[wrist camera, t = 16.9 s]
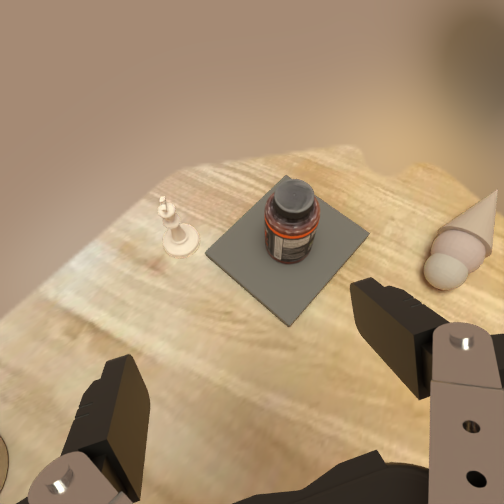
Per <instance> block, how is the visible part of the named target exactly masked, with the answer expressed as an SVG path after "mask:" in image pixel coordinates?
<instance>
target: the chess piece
mask: <svg viewBox="0 0 504 504" xmlns="http://www.w3.org/2000/svg"><path fill="white" fill-rule="evenodd" d="M160 203H161V205H160V206H159V207H158V214H159V216H160V217H162V218H163V225H164V226H165V227H166V228H169V229H168V230H167V231H166V232H165V234H164V236H163V247H164V249H165V251H166V252H167V254H169V255H170V256H172V257H174V258H185V257H188V256H190V255H192V254H193V253H194V252H195V251H196V250H197V249H198V247H199V245H200V235H199V233H198V232H197V230H196V229H195V228H194V227H193V226H191V225H189V224H185V223H180V222H181V218H180V216H179V215H178V214H177V213H175V212H176V208H175V206H174V205H173V204H172V203H169V202H166V198H165V196H164V197H161V198H160Z"/></svg>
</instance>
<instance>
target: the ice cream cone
mask: <svg viewBox="0 0 504 504" xmlns="http://www.w3.org/2000/svg"><path fill="white" fill-rule="evenodd" d="M497 192H498V189H497V190H495V191H494V192H492V193H491V194H489V195H488V196H487V197H485V198H484V199H482V200H481V201H479V202H478V203H476V204H475V205H473V206H472V207H470V208H469V209H468V210H466V211H465V212H463V213H462V214H460V215H459V216H457V217H456V218H454V219H453V220H452V221H450V222H449V223H447V224H446V225H444V226H443V227H441V228H440V229H439V230H438V237H437V238H436V239H435V240H434V242H433V244H432V247H431V256H430V257H429V258H428V259H427V261H426V263H425V265H424V275H425V278H426V279H427V281H428V282H429V283H430V284H431V285H432V286H434V287H435V288H438V289H442V290H452V289H455V288H457V287H459V286H461V285H462V284H463V283H464V282H465V280H466V278H467V276H468V274H469V273H471V272H473V271H475V270H476V269H478V268H479V267H480V265H481V264H482V263H483V261H484V259H485V258H486V257H488V256H490V255H491V253H492V244H493V234H494V224H495V214H496V203H497Z"/></svg>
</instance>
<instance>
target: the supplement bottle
mask: <svg viewBox="0 0 504 504" xmlns="http://www.w3.org/2000/svg"><path fill="white" fill-rule="evenodd" d="M264 217H265V218H264V219H265V245H266V249H267V251H268V253H269V254H270V256H271V257H272V258H273V259H275V260H277V261H278V262H281V263H285V264H293V263H297V262H299V261H301V260H303V259H304V258H305V257H306V256H307V255H308V254H309V252H310V250H311V247H312V244H313V241H314V237H315V233H316V230H317V226H318V223H319V219H320V206H319V202H318V200H317V199H316V197H315V196H314V191H313V189H312V188H311V186H310V185H309V184H308V183H306V182H304V181H302V180H299V179H289V180H285V181H283V182H282V183H280V184H279V185H278V186H277V188H276V190H275V192H274V193H272V194H271V196H270V197H269V198H268V200H267V202H266V205H265V215H264Z"/></svg>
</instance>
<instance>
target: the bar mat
mask: <svg viewBox="0 0 504 504" xmlns="http://www.w3.org/2000/svg"><path fill="white" fill-rule="evenodd" d="M289 179H291V178H290V177H288V176H287V175H285V176H284V177H283V178H282V179H281V180H280V181H279V182H278V183H277V184H276V185H275V186H274V187H273V188H272V189H271V190H270V191H269V192H267V193H266V194H265V195H264V196H263V197H262V198H261V199H260V200H259V201H258V202H257V203H256V204H255V205H254V206H253V207H252V208H251V209H250V210H249V211H248V212H247V213H245V214H244V215H243V216H242V217H241V218H240V219H239V220H238V221H237V222H236V223H235V224H234V225H233V226H232V227H231V228H230V229H229V230H228V231H227V232H226V233H225V234H223V235H222V236H221V237H220V238H219V239H218V240H217V241H216V242H215V243H214V244H213V245H212V246H211V247H210V248H209V249H208V250H207V251H206V252H205V254H206V256H207V257H208V258H210V259H211V260H212V261H213V262H214V263H215V264H216V265H218V266H219V267H220V268H221V269H222V270H223V271H225V272H226V273H227V274H228V275H229V276H230V277H231V278H233V279H234V280H235V281H236V282H237V283H238V284H240V285H241V286H242V287H243V288H244V289H245V290H246V291H248V292H249V293H250V294H251V295H252V296H253V297H255V298H256V299H257V300H258V301H259V302H260V303H261V304H263V305H264V306H265V307H266V308H267V309H268V310H269V311H271V312H272V313H273V314H274V315H275V316H276V317H278V318H279V319H280V320H281V321H282V322H283V323H284V324H286V325H287V326H288V327H290V326H291V325H292V324H293V322H294V321H295V320H296V319H297V318H298V317H299V315H300V314H301V313H302V312H303V311H304V310H305V309H306V307H307V306H308V305H309V304H310V303H311V302H312V300H313V299H314V298H315V297H316V296H317V295H318V294H319V292H320V291H321V290H322V289H323V288H324V287H325V285H326V284H327V283H328V282H329V281H330V280H331V278H332V277H333V276H334V275H335V274H336V273H337V272H338V270H339V269H340V268H341V267H342V266H343V265H344V263H345V262H346V261H347V260H348V259H349V258H350V257H351V255H352V254H353V253H354V252H355V251H356V250H357V248H358V247H359V246H360V245H361V244H362V243H363V242H364V240H365V239H366V238H367V237H368V235H369V234H370V233H369V232H367V231H366V230H364V229H363V228H361V227H360V226H359V225H357V224H356V223H354V222H353V221H351V220H350V219H349V218H347V217H346V216H344V215H343V214H341V213H340V212H339V211H337V210H336V209H334V208H333V207H331V206H330V205H328V204H327V203H326V202H324V201H323V200H321V199H320V198H318V197H317V196H316V195H314V196H315V197H316V199H317V200H318V202H319V206H320V219H319V223H318V226H317V230H316V233H315V237H314V241H313V244H312V247H311V250H310V252H309V254H308V255H307V256H306V257H305V258H304V259H303V260H301V261H299V262H297V263H293V264H285V263H281V262H278V261H277V260H275V259H273V258H272V257H271V256H270V254H269V253H268V251H267V249H266V245H265V219H264V218H265V217H264V215H265V205H266V202H267V200H268V198H269V197H270V196H271V194H272V193H274V192H275V190H276V188H277V186H278V185H279V184H280V183H282V182H283V181H285V180H289Z"/></svg>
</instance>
